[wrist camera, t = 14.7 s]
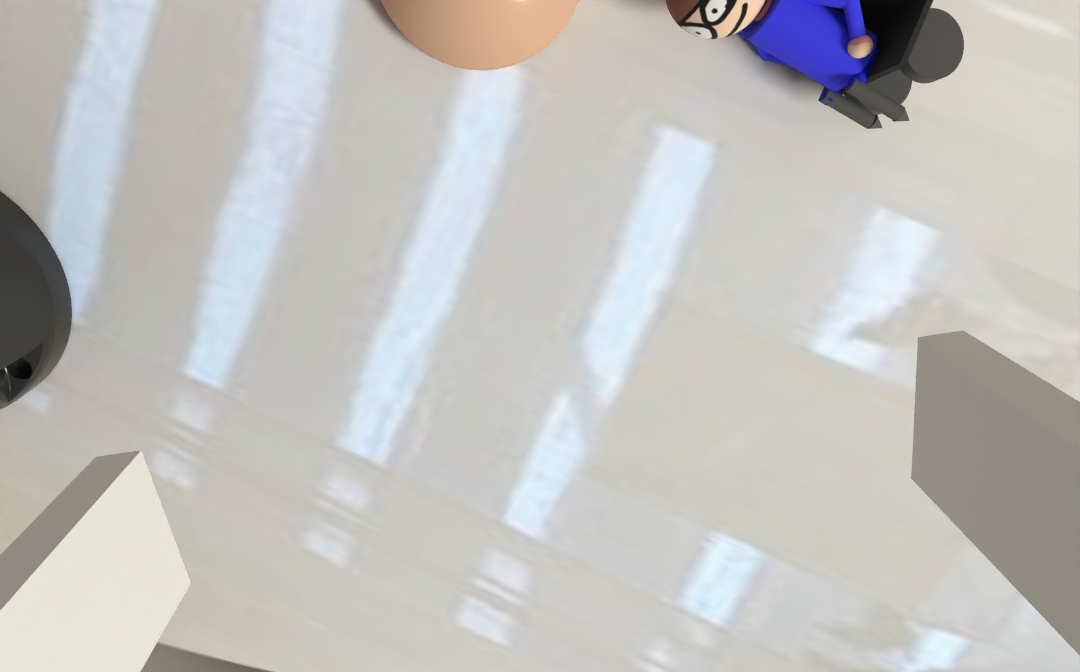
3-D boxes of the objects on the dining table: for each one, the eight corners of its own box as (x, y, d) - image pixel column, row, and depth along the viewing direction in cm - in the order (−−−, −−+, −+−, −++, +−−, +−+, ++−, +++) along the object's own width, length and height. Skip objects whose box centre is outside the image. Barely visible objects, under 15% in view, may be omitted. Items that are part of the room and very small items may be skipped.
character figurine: (854, 140, 44) (635, 4, 41) (938, 21, 42) (711, -134, 39) (915, 169, 37) (656, 7, 34) (1021, 28, 35) (751, -161, 31)
